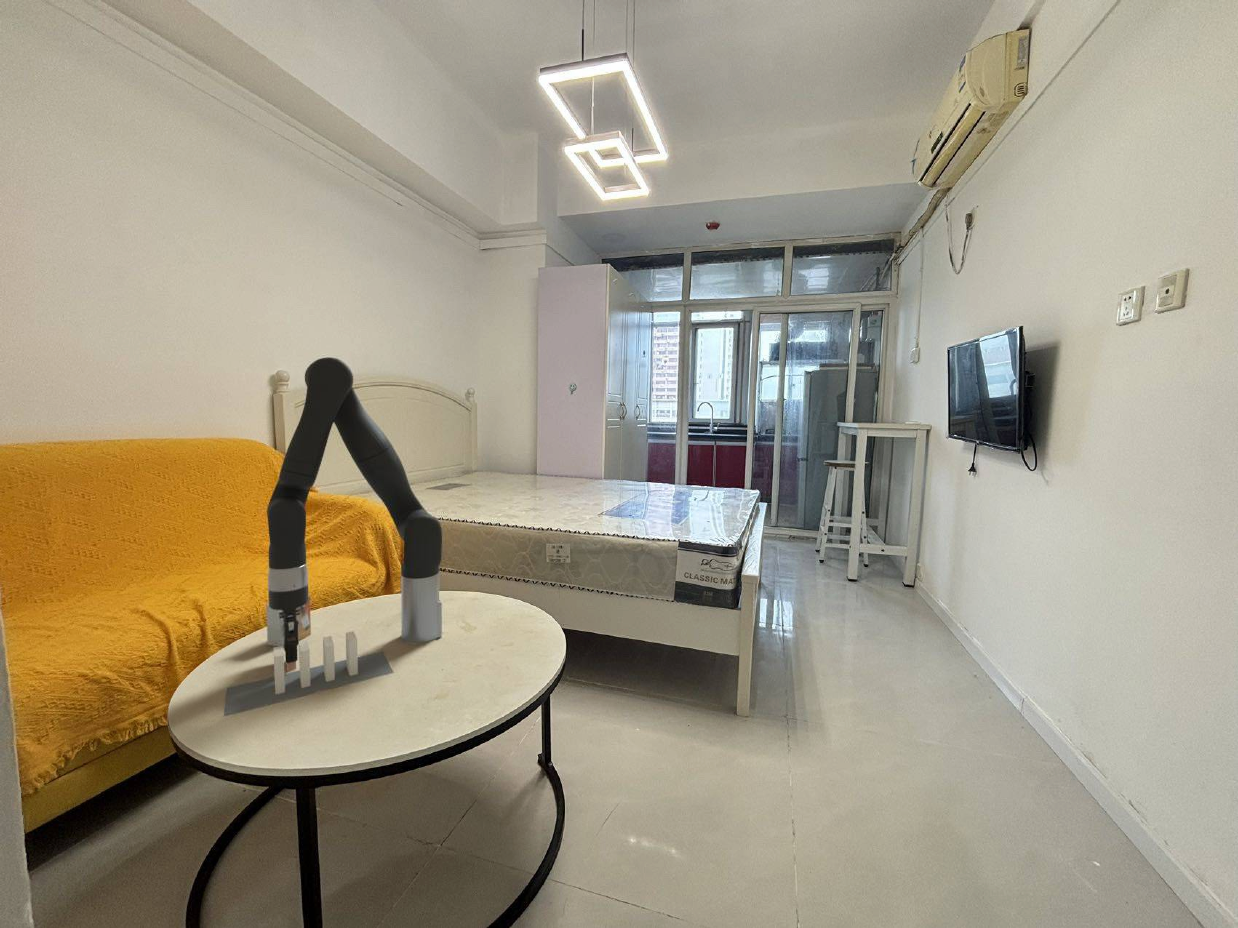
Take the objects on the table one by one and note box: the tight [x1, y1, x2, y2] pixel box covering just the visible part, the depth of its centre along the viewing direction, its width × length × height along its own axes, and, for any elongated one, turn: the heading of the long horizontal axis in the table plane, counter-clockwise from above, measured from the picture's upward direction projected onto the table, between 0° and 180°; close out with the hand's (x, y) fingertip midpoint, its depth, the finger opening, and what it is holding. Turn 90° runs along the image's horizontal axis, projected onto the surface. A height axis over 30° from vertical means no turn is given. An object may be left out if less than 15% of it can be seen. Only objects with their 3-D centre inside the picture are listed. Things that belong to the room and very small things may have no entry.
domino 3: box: [298, 640, 311, 688], centre depth 106 cm, size 2×5×8 cm, turn 36°
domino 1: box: [273, 646, 285, 694], centre depth 104 cm, size 2×5×8 cm, turn 36°
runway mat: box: [223, 650, 395, 717], centre depth 107 cm, size 30×12×1 cm, turn 126°
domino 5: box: [345, 630, 359, 676], centre depth 112 cm, size 2×5×8 cm, turn 36°
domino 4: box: [322, 635, 335, 682], centre depth 109 cm, size 2×5×8 cm, turn 36°
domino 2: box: [286, 637, 297, 671], centre depth 113 cm, size 2×5×8 cm, turn 36°
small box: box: [266, 595, 312, 648], centre depth 126 cm, size 8×6×10 cm
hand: (290, 655), depth 113 cm, fingers open, 6 cm apart
